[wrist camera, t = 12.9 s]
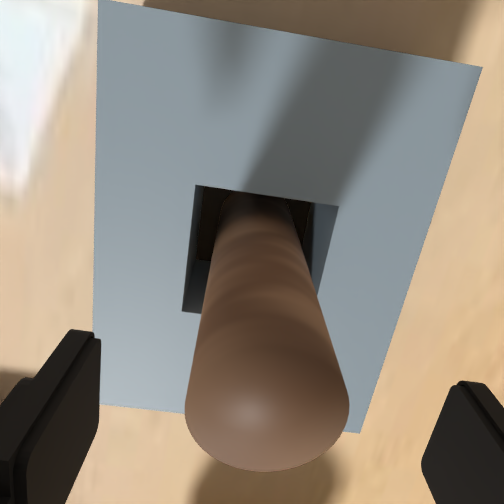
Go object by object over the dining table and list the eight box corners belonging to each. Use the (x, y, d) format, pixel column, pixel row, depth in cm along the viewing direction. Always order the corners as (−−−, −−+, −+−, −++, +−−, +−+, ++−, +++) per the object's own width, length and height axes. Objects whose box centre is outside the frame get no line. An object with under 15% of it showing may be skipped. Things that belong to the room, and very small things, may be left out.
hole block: (420, 69, 21) (482, 67, 16) (337, 362, 28) (359, 433, 23) (138, 18, 20) (98, -2, 15) (123, 336, 27) (91, 403, 22)
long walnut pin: (296, 190, 24) (368, 354, 10) (283, 255, 25) (329, 479, 11) (224, 179, 23) (193, 332, 9) (215, 246, 25) (177, 463, 11)
